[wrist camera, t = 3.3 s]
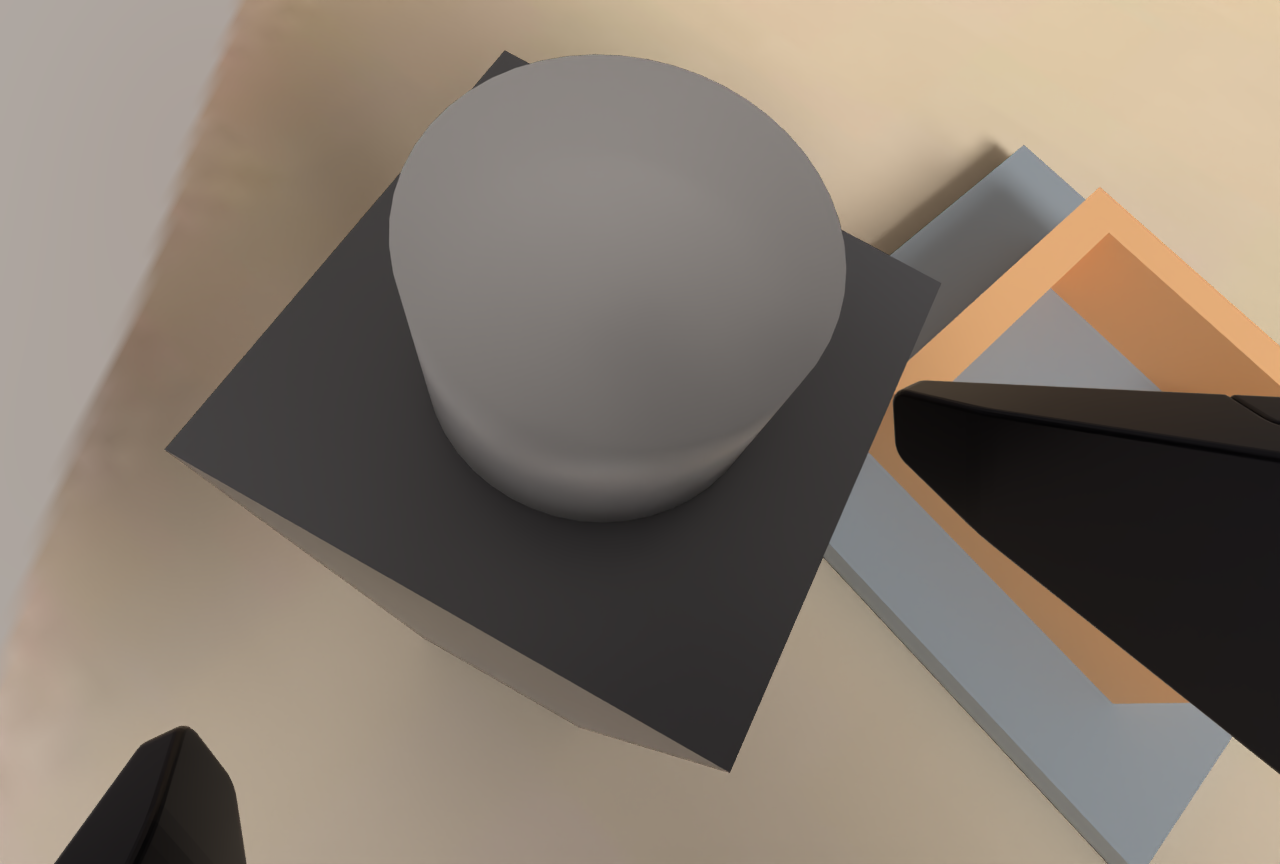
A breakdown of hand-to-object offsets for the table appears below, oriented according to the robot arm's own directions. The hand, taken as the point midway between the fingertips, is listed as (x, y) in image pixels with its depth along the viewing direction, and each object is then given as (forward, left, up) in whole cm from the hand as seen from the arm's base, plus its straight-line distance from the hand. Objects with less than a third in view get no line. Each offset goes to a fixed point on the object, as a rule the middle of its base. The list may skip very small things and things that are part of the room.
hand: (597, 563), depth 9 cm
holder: (+10, -9, -9) cm, 17 cm away
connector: (0, +1, -9) cm, 9 cm away
